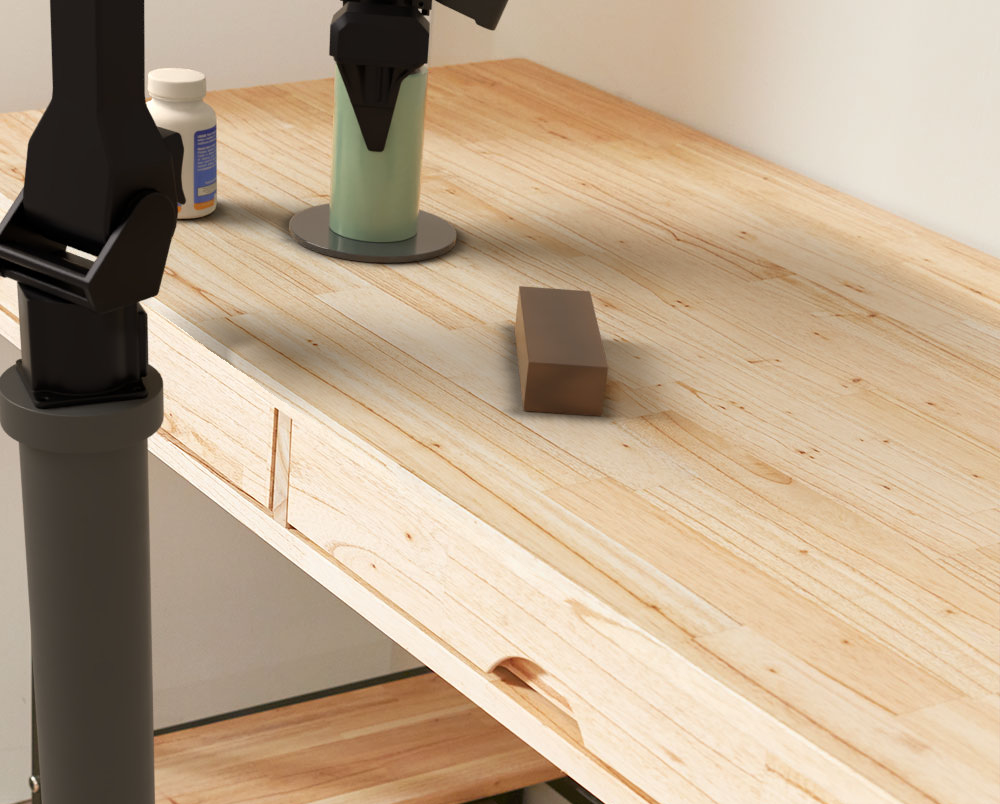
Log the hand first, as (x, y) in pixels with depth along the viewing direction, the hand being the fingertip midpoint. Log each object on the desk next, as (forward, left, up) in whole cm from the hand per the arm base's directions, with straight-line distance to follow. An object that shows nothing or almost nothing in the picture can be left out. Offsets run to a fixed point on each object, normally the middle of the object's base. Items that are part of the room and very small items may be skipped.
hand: (377, 137), depth 108 cm
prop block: (+2, -25, -7) cm, 26 cm away
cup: (-4, +2, -5) cm, 7 cm away
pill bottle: (-12, +8, -7) cm, 16 cm away
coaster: (0, 0, -7) cm, 7 cm away
